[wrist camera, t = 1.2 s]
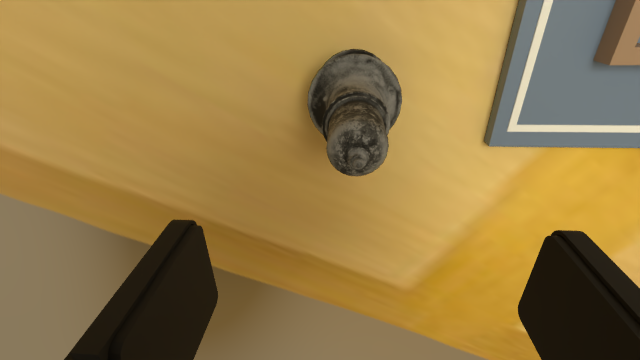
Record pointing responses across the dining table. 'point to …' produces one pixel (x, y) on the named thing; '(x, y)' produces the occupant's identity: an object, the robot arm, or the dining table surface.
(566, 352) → the robot arm
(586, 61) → the board
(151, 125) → the dining table surface
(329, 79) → the dark grey chess piece
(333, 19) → the dining table surface
